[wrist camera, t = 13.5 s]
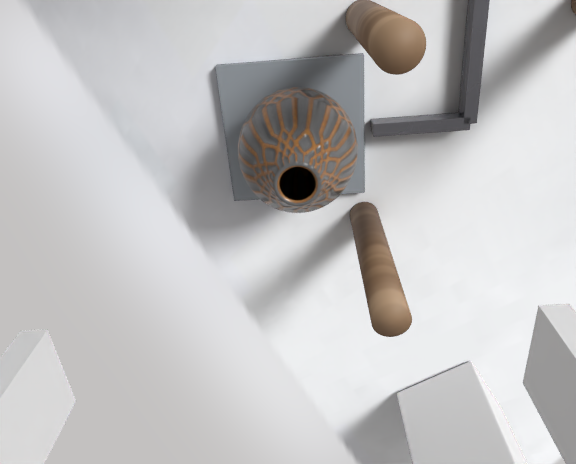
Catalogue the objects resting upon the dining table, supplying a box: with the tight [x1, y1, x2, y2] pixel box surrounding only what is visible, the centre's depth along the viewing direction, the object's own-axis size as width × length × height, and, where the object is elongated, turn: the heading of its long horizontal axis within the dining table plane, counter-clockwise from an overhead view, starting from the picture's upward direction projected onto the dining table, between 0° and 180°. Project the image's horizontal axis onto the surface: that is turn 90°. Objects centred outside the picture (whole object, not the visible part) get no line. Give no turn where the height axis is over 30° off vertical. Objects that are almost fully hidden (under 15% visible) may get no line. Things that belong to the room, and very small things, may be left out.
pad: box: [215, 53, 365, 201], centre depth 32 cm, size 9×9×1 cm
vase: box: [238, 87, 358, 213], centre depth 28 cm, size 7×7×9 cm
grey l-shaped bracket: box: [371, 0, 489, 137], centre depth 29 cm, size 10×6×1 cm, turn 5°
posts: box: [346, 0, 576, 337], centre depth 26 cm, size 15×15×12 cm
